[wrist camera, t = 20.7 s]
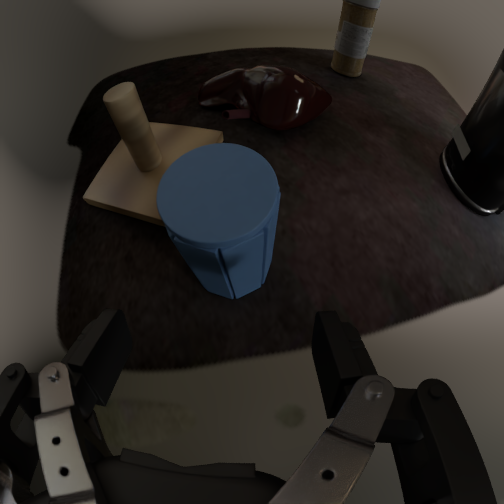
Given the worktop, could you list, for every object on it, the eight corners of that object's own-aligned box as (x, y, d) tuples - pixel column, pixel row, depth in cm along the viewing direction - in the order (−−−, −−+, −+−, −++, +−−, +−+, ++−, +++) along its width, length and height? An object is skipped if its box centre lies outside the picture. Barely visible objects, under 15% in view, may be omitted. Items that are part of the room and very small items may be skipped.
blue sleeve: (278, 239, 20) (291, 156, 12) (256, 307, 18) (256, 260, 10) (211, 221, 21) (187, 135, 12) (185, 283, 19) (135, 223, 10)
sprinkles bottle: (337, 60, 31) (351, -15, 18) (365, 72, 30) (385, -4, 17) (324, 69, 30) (338, -15, 17) (355, 82, 28) (376, -3, 16)
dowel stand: (223, 140, 24) (212, 56, 15) (177, 230, 20) (133, 149, 12) (139, 128, 25) (111, 61, 17) (88, 204, 22) (35, 140, 13)
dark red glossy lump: (322, 138, 27) (268, 135, 20) (242, 110, 32) (177, 106, 25) (340, 86, 24) (290, 59, 16) (254, 65, 29) (190, 49, 21)
